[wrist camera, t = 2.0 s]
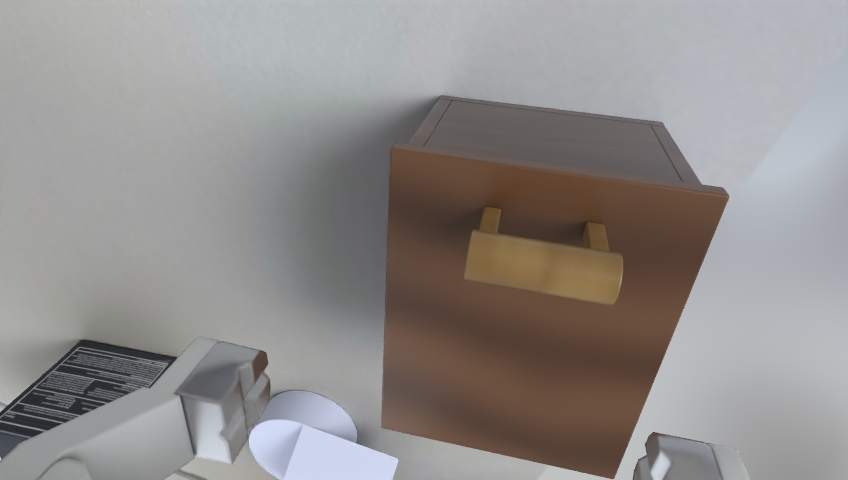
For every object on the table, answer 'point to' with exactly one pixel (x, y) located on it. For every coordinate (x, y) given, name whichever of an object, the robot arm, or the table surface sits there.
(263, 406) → the robot arm
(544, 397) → the lid
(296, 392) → the wedge on round base
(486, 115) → the brown wooden open box
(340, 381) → the table surface
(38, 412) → the small box
